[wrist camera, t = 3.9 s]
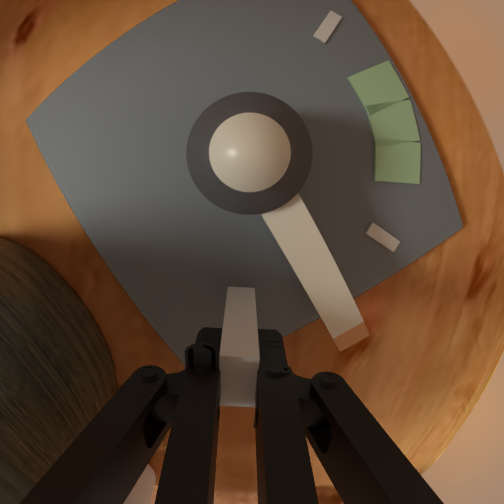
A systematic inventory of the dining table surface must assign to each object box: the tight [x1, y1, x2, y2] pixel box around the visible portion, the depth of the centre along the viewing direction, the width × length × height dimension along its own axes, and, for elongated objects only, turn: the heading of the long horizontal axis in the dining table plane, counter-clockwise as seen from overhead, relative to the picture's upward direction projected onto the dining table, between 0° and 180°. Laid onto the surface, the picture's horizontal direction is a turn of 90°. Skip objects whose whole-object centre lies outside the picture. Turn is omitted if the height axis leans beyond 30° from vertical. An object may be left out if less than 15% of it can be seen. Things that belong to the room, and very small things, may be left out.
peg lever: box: [186, 92, 370, 352], centre depth 15 cm, size 13×5×6 cm, turn 31°
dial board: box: [26, 0, 463, 367], centre depth 17 cm, size 22×22×1 cm
